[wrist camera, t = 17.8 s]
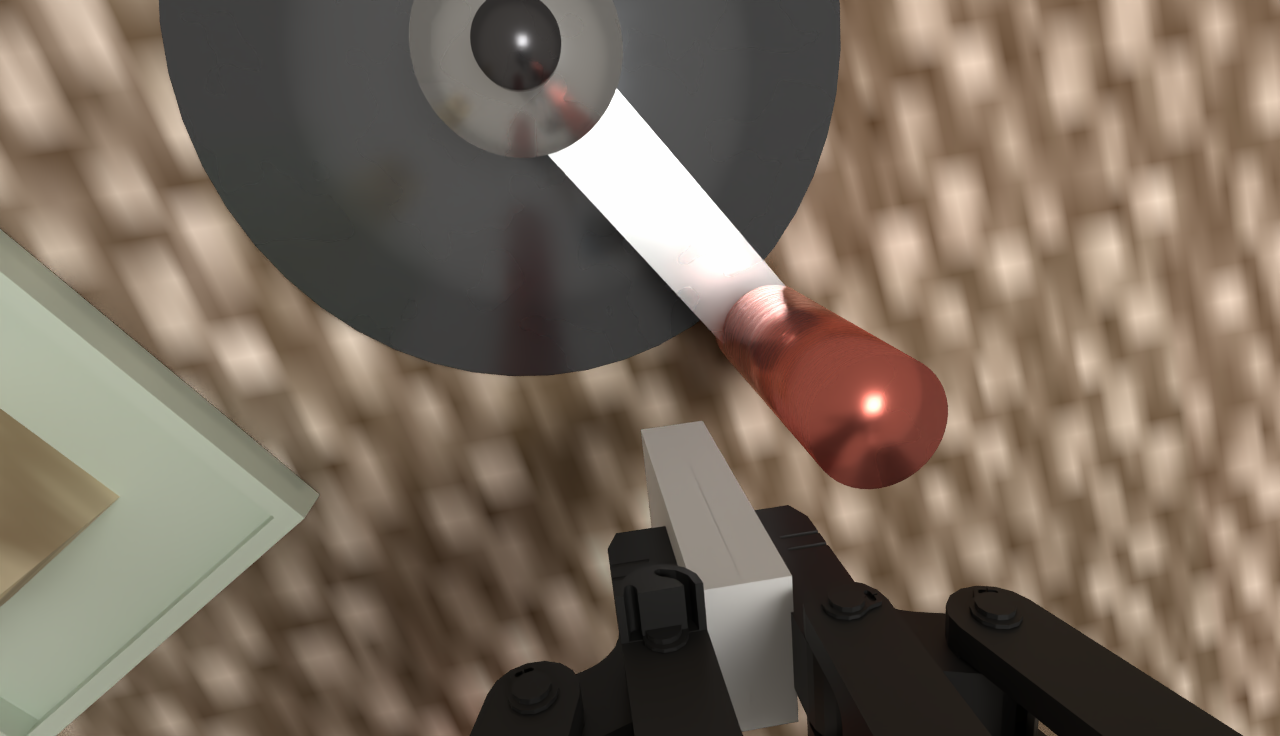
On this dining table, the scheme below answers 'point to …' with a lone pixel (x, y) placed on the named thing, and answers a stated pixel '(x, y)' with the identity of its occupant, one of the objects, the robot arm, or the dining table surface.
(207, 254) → the dining table surface
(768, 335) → the crank
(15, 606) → the tray
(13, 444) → the block
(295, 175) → the base plate
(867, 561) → the dining table surface
